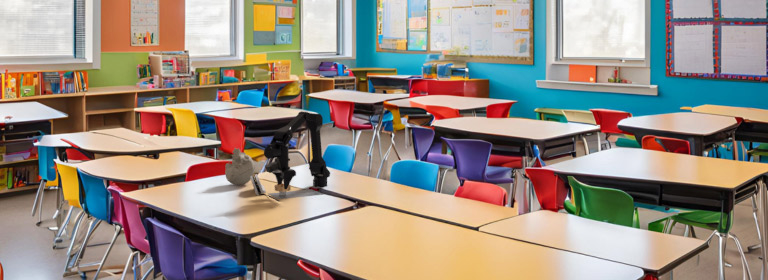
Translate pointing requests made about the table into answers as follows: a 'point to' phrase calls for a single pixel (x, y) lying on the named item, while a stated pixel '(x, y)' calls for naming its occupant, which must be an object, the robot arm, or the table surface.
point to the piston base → (294, 194)
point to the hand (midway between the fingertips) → (282, 188)
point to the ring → (282, 188)
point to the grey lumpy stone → (239, 168)
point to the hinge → (257, 185)
